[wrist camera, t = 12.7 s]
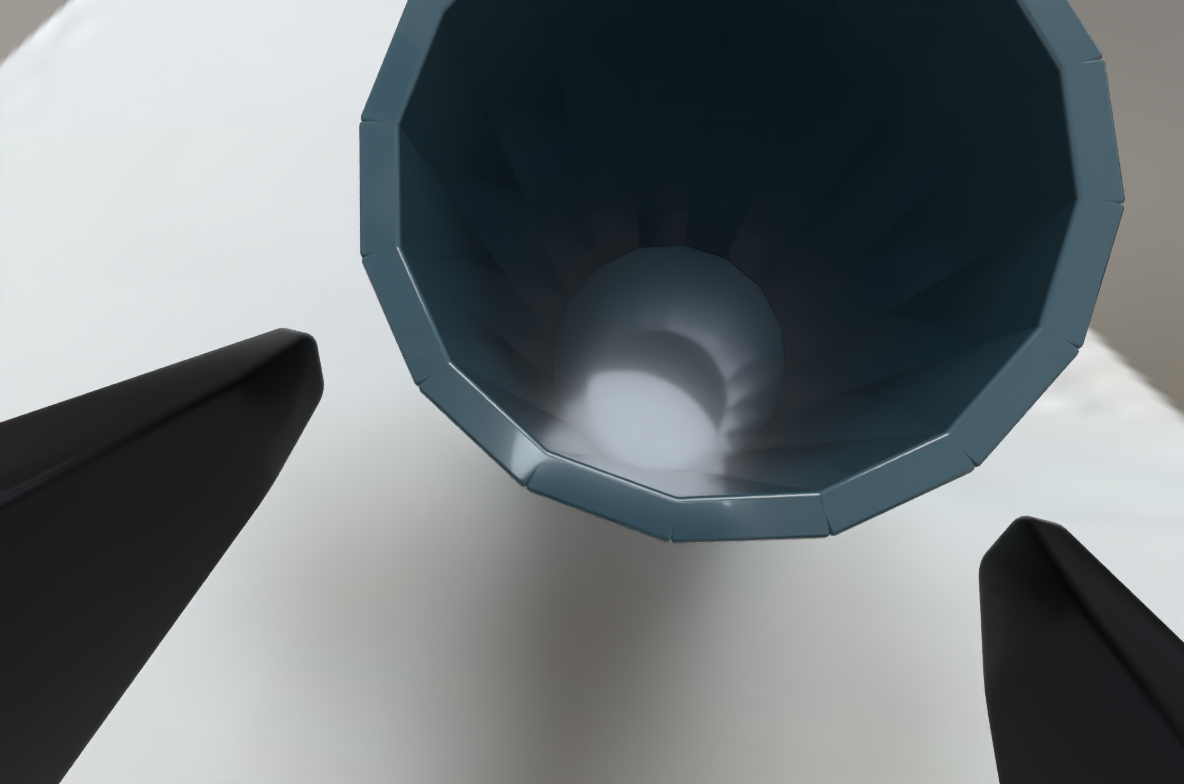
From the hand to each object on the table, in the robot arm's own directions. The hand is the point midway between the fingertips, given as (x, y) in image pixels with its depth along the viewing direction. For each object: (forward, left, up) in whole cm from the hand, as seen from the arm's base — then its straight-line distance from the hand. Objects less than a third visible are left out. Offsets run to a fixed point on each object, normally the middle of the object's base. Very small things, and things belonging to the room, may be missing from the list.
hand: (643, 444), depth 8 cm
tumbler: (+3, 0, -9) cm, 10 cm away
